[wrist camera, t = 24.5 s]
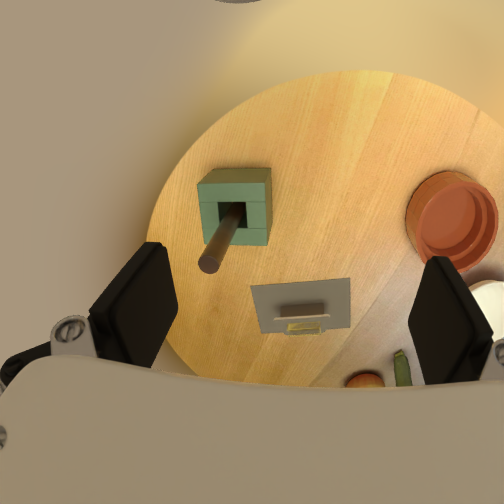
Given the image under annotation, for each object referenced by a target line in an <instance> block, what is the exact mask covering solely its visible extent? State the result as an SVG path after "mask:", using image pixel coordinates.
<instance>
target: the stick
mask: <svg viewBox="0 0 504 504" xmlns="http://www.w3.org/2000/svg"><path fill="white" fill-rule="evenodd" d="M245 210H246V202H233V203H232V204H231V206H230V208H229V209H228V211H227V213H226V214H225V216H224V218H223V219H222V221H221V223H220V224H219V226H218V228H217V229H216V231H215V233H214V234H213V236H212V238H211V240H210V241H209V243H208V245H207V246H206V248H205V250H204V252H203V253H202V255H201V257H200V259H199V261H198V265H199V268H200V269H201V270H202V271H203V272H205V273H207V274H213V273H215V272H217V271H218V269H219V267H220V265H221V262H222V260H223V258H224V256H225V254H226V251H227V249H228V247H229V245H230V243H231V240H232V238H233V236H234V234H235V232H236V230H237V227H238V225H239V223H240V221H241V219H242V217H243V214H244V212H245Z"/></svg>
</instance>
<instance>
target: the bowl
mask: <svg viewBox="0 0 504 504" xmlns="http://www.w3.org/2000/svg"><path fill="white" fill-rule="evenodd" d="M468 288H469V290H470V291H471V293H472V295H473V296H474V298H475V300H476V301H477V303H478V305H479V306H480V308H481V310H482V312H483V313H484V315H485V317H486V319H487V321H488V322H489V324H490V326H491V328H492V330H493V332H494V334H493V336H492V339H493V341H494V342H495V341H496V340H499V339H502V338H503V337H504V282H502V281H495V280H485V281H481V282H478V283H476V284H473V285H471V286H470V287H468Z"/></svg>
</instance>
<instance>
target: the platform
mask: <svg viewBox="0 0 504 504" xmlns="http://www.w3.org/2000/svg"><path fill="white" fill-rule="evenodd" d="M250 287H251V291H252V296H253V300H254V304H255V308H256V313H257V317H258V321H259V325H260V329H261V333H282V332H283V333H284V334H285V335H299V336H310V335H305V334H314V333H315V335H321V333H323V332H325V331H326V330H327V329H339V328H350V278H342V279H332V280H321V281H309V282H297V283H285V284H272V285H258V286H250ZM319 333H320V334H319ZM289 337H294V336H289Z"/></svg>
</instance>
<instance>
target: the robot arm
mask: <svg viewBox="0 0 504 504" xmlns="http://www.w3.org/2000/svg"><path fill="white" fill-rule="evenodd" d="M177 312H178V302H177V297H176V293H175V288H174V283H173V278H172V273H171V268H170V263H169V258H168V253H167V249H166V247H165V246H163V245H162V244H161V243H160V242H145V243H144V244H143V245H142V246H141V247H140V248H139V249H138V251H137V252H136V253H135V254H134V255H133V256H132V258H131V259H130V260H129V261H128V262H127V263H126V265H125V266H124V267H123V268H122V269H121V271H120V272H119V273H118V274H117V275H116V277H115V278H114V279H113V280H112V281H111V283H110V284H109V285H108V287H107V288H106V289H105V290H104V291H103V293H102V294H101V295H100V297H99V298H98V299H97V300H96V302H95V303H94V304H93V305H92V307H91V308H90V309H89V313H90V315H89V316H88V318H85V317H84V316H80V315H73V316H68V317H66V318H64V319H62V320H60V321H59V322H58V323H57V324H56V325H55V326H54V327H53V329H52V331H51V335H50V339H51V340H50V341H49V342H46V343H44V344H41V345H39V346H36V347H34V348H31V349H29V350H26V351H24V352H21V353H19V354H16V355H14V356H12V357H10V358H9V359H7V360H6V362H5V363H4V364H3V366H2V368H1V370H0V504H504V339H499V340H496V341H495V342H494V341H493V339H492V336H493V334H494V332H493V330H492V328H491V326H490V324H489V322H488V321H487V319H486V317H485V315H484V313H483V312H482V310H481V308H480V306H479V305H478V303H477V301H476V300H475V298H474V296H473V295H472V293H471V291H470V290H469V288H468V286H467V285H466V283H465V282H464V280H463V279H462V277H461V275H460V274H459V272H458V271H457V269H456V268H455V266H454V265H453V263H452V262H451V260H450V259H449V258H448V257H447V256H432V258H431V259H429V260H427V262H426V265H425V269H424V272H423V275H422V279H421V282H420V285H419V288H418V292H417V295H416V298H415V301H414V304H413V307H412V309H411V312H410V315H409V319H408V326H409V330H410V333H411V336H412V339H413V342H414V346H415V349H416V352H417V356H418V359H419V363H420V367H421V370H422V374H423V378H424V381H425V385H421V386H405V387H382V388H323V387H299V386H282V385H269V384H257V383H247V382H237V381H229V380H220V379H213V378H205V377H198V376H192V375H185V374H179V373H173V372H168V371H162V370H156V369H151V366H152V364H153V362H154V360H155V358H156V356H157V354H158V352H159V349H160V347H161V345H162V343H163V341H164V339H165V337H166V335H167V333H168V331H169V329H170V327H171V325H172V323H173V321H174V319H175V317H176V315H177Z"/></svg>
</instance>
